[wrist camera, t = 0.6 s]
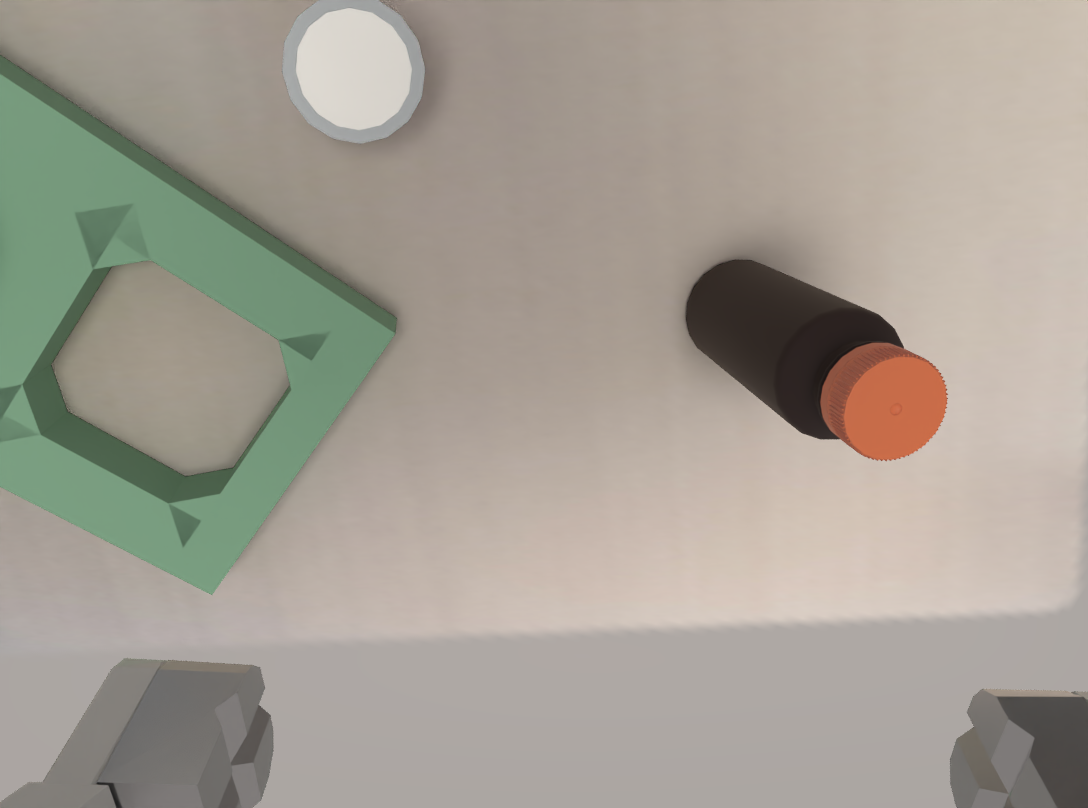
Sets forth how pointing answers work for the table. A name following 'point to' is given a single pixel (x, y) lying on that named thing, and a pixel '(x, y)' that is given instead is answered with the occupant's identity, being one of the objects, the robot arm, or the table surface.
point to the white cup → (353, 69)
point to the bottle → (817, 359)
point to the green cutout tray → (198, 259)
